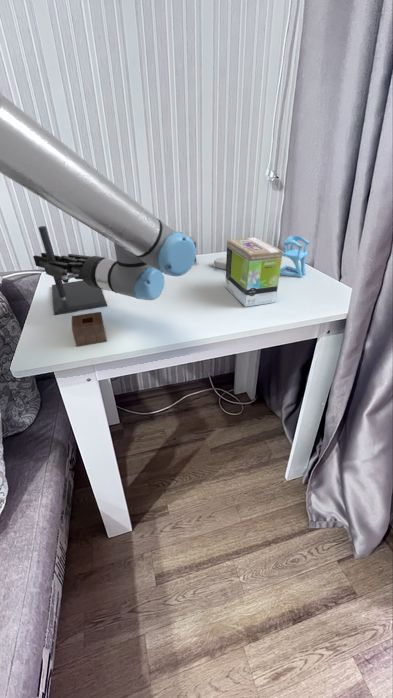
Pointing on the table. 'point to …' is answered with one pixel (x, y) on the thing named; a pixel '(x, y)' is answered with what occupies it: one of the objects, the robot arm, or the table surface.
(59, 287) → the stylus
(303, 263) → the chair
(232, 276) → the tea box
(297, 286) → the table surface
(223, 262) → the electronic device
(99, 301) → the dark grey flat block
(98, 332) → the pen stand
